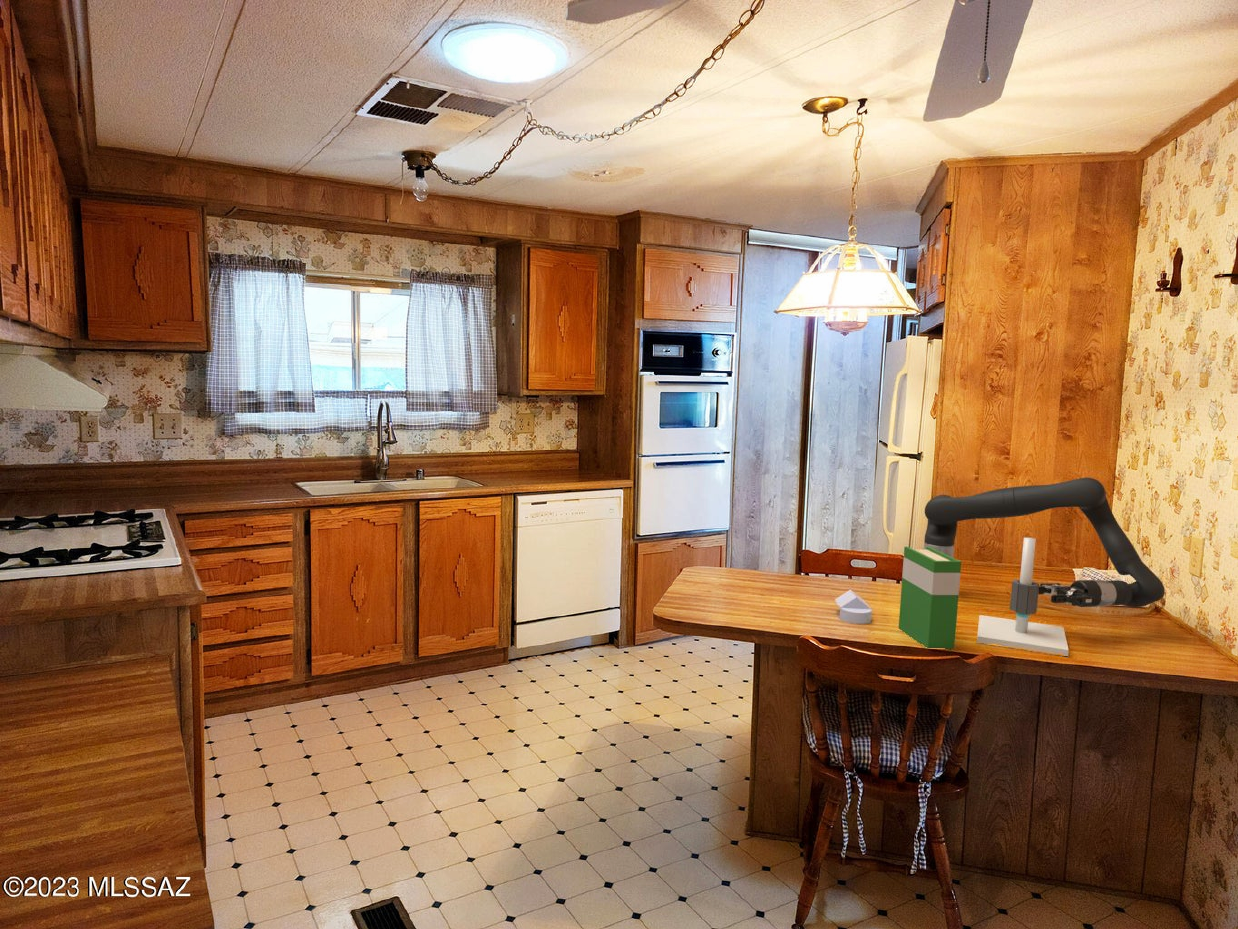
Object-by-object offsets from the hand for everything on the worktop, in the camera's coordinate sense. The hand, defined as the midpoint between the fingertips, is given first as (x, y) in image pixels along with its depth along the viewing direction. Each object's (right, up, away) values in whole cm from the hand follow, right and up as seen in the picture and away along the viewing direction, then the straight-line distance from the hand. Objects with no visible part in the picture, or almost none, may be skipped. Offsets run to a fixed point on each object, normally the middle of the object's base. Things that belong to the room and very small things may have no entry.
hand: (1041, 594), depth 228 cm
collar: (-5, -4, 0) cm, 7 cm away
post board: (-6, -12, +1) cm, 14 cm away
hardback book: (-33, -12, -2) cm, 35 cm away
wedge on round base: (-48, -10, +16) cm, 51 cm away
